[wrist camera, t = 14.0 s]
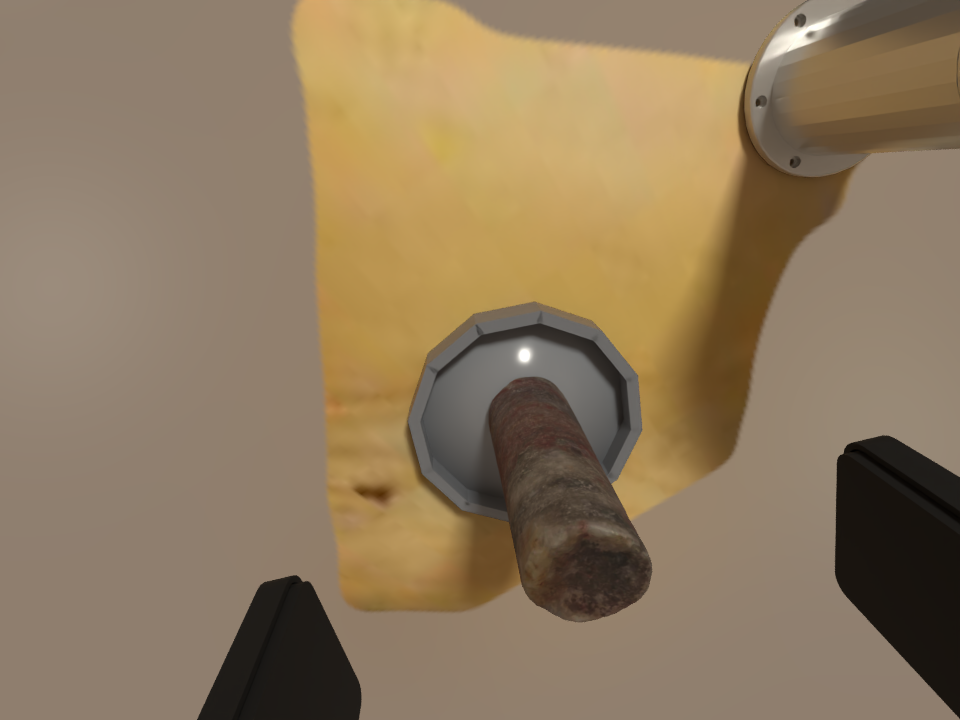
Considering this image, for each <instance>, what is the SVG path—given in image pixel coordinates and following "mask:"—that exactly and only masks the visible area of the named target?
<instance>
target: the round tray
mask: <svg viewBox="0 0 960 720" xmlns="http://www.w3.org/2000/svg"><path fill="white" fill-rule="evenodd" d="M532 376H533V377H542V378H545V379H547V380H549V381H551V382H552V383H554V384H555V385H556V386H557V387H558V388H559V390H560V391H561V392H562V393H563V394H564V396H565V398H566V400H567V401H568V403H569V405H570V407H571V409H572V411H573V412H574V414H575V416H576V418H577V420H578V422H579V423H580V425H581V427H582V429H583V431H584V433H585V435H586V437H587V439H588V441H589V443H590V445H591V447H592V449H593V451H594V453H595V455H596V457H597V459H598V461H599V463H600V464H601V466H602V468H603V470H604V472H605V474H606V476H607V478H608V479H609V481H610V483H611V484H612V483H613V482H614V481H616V480H617V479H618V477H619V475H620V473H621V471H622V469H623V467H624V465H625V463H626V461H627V459H628V457H629V455H630V453H631V451H632V449H633V447H634V446H635V444H636V442H637V440H638V438H639V436H640V434H641V432H642V420H641V408H640V395H639V383H638V375H637V374H636V373H635V371H634V370H633V369H632V368H631V366H630V365H629V364H628V363H627V361H626V360H625V359H624V358H623V357H622V355H621V354H620V353H619V352H618V350H617V349H616V348H615V347H614V345H613V344H612V343H611V342H610V340H609V339H608V338H607V337H606V336H605V334H604V333H603V332H602V330H601V329H600V328H599V327H598V326H597V325H596V324H595V323H594V322H593V321H591V320H588V319H585V318H582V317H579V316H576V315H573V314H570V313H567V312H564V311H561V310H558V309H555V308H552V307H549V306H546V305H543V304H540V303H537V302H531V303H526V304H521V305H516V306H511V307H506V308H501V309H496V310H492V311H487V312H482V313H477V314H473V315H472V316H471V317H470V318H469V319H467V320H466V321H465V322H464V323H463V324H462V325H460V326H459V327H458V328H457V329H456V330H455V331H453V332H452V333H451V334H450V335H449V336H448V337H446V338H445V339H444V340H443V341H442V342H441V343H439V344H438V345H437V346H436V347H435V348H434V349H432V350H431V351H430V352H429V353H428V354H427V357H426V360H425V363H424V366H423V369H422V372H421V375H420V378H419V381H418V384H417V387H416V390H415V393H414V396H413V400H412V403H411V406H410V411H409V417H408V424H409V427H410V431H411V435H412V438H413V442H414V446H415V449H416V453H417V457H418V460H419V464H420V468H421V471H422V474H423V475H424V476H425V477H426V478H427V479H428V480H429V481H431V482H432V483H433V484H434V485H435V486H436V487H437V488H438V489H439V490H440V491H441V492H443V493H444V494H445V495H446V496H447V497H448V498H449V499H450V500H451V501H452V502H454V503H455V504H456V505H457V506H458V507H459V508H460V509H461V510H463V511H467V512H471V513H475V514H479V515H483V516H487V517H491V518H495V519H499V520H503V521H507V522H509V519H508V513H507V508H506V503H505V498H504V493H503V488H502V484H501V479H500V474H499V470H498V466H497V462H496V456H495V452H494V448H493V443H492V439H491V434H490V429H489V421H488V420H489V409H490V406H491V403H492V400H493V399H494V397H495V396H496V395H497V394H498V393H499V392H500V391H501V390H502V389H503V388H504V387H506V386H507V385H508V384H509V383H510V382H511V381H513V380H515V379H517V378H521V377H532Z"/></svg>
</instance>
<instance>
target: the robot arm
mask: <svg viewBox="0 0 960 720" xmlns="http://www.w3.org/2000/svg"><path fill="white" fill-rule="evenodd" d="M794 22H795V25H794ZM756 101H757V105H756V104H755V103H756ZM744 113H745V120H746V127H747V130H748V133H749V136H750V139H751V142H752V143H753V145H754V147H755V148H756V150H757V152H758V153H759V155H760V156H761V157H762V158H763V159H764V160H765V161H766V162H767V163H768V164H769V165H771V166H773V167H774V168H776V169H777V170H779V171H781V172H784V173H786V174H789V175H792V176H801V177H822V176H827V175H832V174H836V173H838V172H841V171H843V170H846V169H848V168H851V167H852V166H854V165H856V164H857V163H859V162H860V161H862V160H864V159H865V158H866V157H867V156H869V155H870V154H871V153H884V152H902V151H903V152H904V151H923V150H941V149H960V0H807V1H805V2H804V3H802V4H801V5H799V6H798V7H796V8H795V9H793V10H792V11H790V12H789V13H788V14H787V15H786V16H785V17H784V18H783V19H782V20H781V21H780V22H779V23H778V24H777V25H776V26H775V27H774V29H773V30H772V31H771V32H770V34H769V35H768V36H767V38H766V39H765V40H764V42H763V44H762V46H761V48H760V50H759V51H758V53H757V55H756V56H755V59H754V62H753V64H752V67H751V70H750V72H749V75H748V80H747V85H746V90H745V102H744ZM835 547H836V548H835V575H836V579H837V582H838V584H839V586H840V588H841V590H842V591H843V593H844V594H845V595H846V597H847V598H848V599H849V600H850V601H851V602H852V603H853V604H854V605H855V606H856V607H857V608H858V610H859V611H860V612H861V613H862V614H863V615H864V616H865V617H866V618H867V619H868V620H869V621H870V623H871V624H872V625H873V626H874V627H875V628H876V629H877V630H878V631H879V632H880V633H881V634H882V635H883V637H885V639H886V640H887V641H888V642H889V643H890V644H891V645H892V646H893V647H894V648H895V649H896V651H898V653H899V654H900V655H901V656H902V657H903V658H904V659H905V660H906V661H907V662H908V663H909V664H910V666H911V667H912V668H913V669H914V670H915V671H916V672H917V673H918V674H919V675H920V676H921V677H922V678H923V680H924V681H925V682H926V683H927V684H928V685H929V686H930V687H931V688H932V689H933V690H934V691H935V692H936V693H937V695H938V696H939V697H940V698H941V699H942V700H943V701H944V702H945V703H946V704H947V705H948V706H949V708H950V709H951V710H952V711H953V712H954V713H955V714H956V715H957V716H958V717H959V718H960V477H958V476H957V475H955V474H953V473H952V472H950V471H948V470H947V469H945V468H943V467H942V466H940V465H938V464H937V463H935V462H933V461H932V460H930V459H928V458H927V457H925V456H923V455H922V454H920V453H918V452H916V451H915V450H913V449H912V448H910V447H908V446H906V445H905V444H903V443H902V442H900V441H898V440H897V439H895V438H893V437H890V436H879V437H875V438H870V439H866V440H862V441H858V442H853V443H850V444H848V445H847V446H846V448H845V449H844V454H842V455H840V456H839V457H838V460H837V492H836V546H835ZM360 708H361V688H360V684H359V681H358V679H357V677H356V675H355V673H354V671H353V669H352V667H351V665H350V662H349V660H348V658H347V656H346V654H345V652H344V650H343V648H342V646H341V644H340V642H339V640H338V638H337V635H336V633H335V631H334V629H333V627H332V625H331V623H330V621H329V619H328V617H327V615H326V613H325V611H324V609H323V606H322V605H321V602H320V600H319V598H318V596H317V594H316V592H315V590H314V588H313V586H312V585H311V583H310V582H308V581H305V582H302V581H301V579H300V578H299V577H298V576H297V575H296V576H289V577H285V578H281V579H276V580H272V581H268V582H264V583H263V584H261V585H260V587H259V588H258V590H257V592H256V594H255V596H254V598H253V601H252V603H251V605H250V607H249V609H248V611H247V613H246V616H245V618H244V620H243V622H242V624H241V626H240V629H239V631H238V633H237V635H236V637H235V639H234V641H233V644H232V646H231V648H230V650H229V652H228V654H227V656H226V659H225V661H224V663H223V665H222V667H221V669H220V672H219V674H218V676H217V678H216V680H215V682H214V685H213V687H212V689H211V691H210V693H209V695H208V697H207V699H206V702H205V704H204V706H203V708H202V710H201V713H200V714H199V717H198V719H197V720H359V714H360Z"/></svg>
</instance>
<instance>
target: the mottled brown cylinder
mask: <svg viewBox="0 0 960 720" xmlns="http://www.w3.org/2000/svg"><path fill="white" fill-rule="evenodd" d="M488 421H489V429H490V434H491V439H492V443H493V448H494V452H495V456H496V462H497V466H498V470H499V474H500V479H501V484H502V488H503V493H504V498H505V503H506V508H507V513H508V519H509V524H510V528H511V533H512V538H513V543H514V548H515V552H516V557H517V563H518V568H519V573H520V578H521V583H522V587H523V588H524V590H525V593H526V594H527V596H528V597H529V599H530V600H532V601H533V602H534V603H535V604H536V605H537V606H540V607H542V608H544V609H546V610H548V611H549V612H551V613H552V614H554V615H556V616H558V617H560V618H562V619H564V620H569V621H574V622H586V621H592V620H596V619H599V618H601V617H605V616H609V615H611V614H615V613H617V612H618V611H620V610H622V609H623V608H626V607H628V606H629V605H631V604H633V603H635V602H636V601H638V600H639V599H640V598H641V597H642V596H643V595H644V593H645V592H646V591H647V589H648V587H649V584H650V579H651V574H652V563H651V560H650V557H649V555H648V552H647V550H646V548H645V546H644V544H643V542H642V541H641V539H640V537H639V536H638V534H637V532H636V530H635V528H634V526H633V525H632V523H631V521H630V520H629V518H628V516H627V514H626V511H625V509H624V507H623V505H622V504H621V502H620V500H619V498H618V496H617V494H616V493H615V490H614V488H613V487H612V485H611V483H610V481H609V479H608V478H607V476H606V474H605V472H604V470H603V468H602V466H601V464H600V463H599V461H598V459H597V457H596V455H595V453H594V451H593V449H592V447H591V445H590V443H589V441H588V439H587V437H586V435H585V433H584V431H583V429H582V427H581V425H580V423H579V422H578V420H577V418H576V416H575V414H574V412H573V411H572V409H571V407H570V405H569V403H568V401H567V400H566V398H565V396H564V394H563V393H562V392H561V391H560V390H559V388H558V387H557V386H556V385H555V384H554V383H552V382H551V381H549V380H547V379H545V378H542V377H533V376H532V377H521V378H517V379H515V380H513V381H511V382H510V383H509V384H508V385H507V386H506V387H504V388H503V389H502V390H501V391H500V392H499V393H498V394H497V395H496V396H495V397H494V399H493V400H492V403H491V406H490V409H489V420H488Z"/></svg>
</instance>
